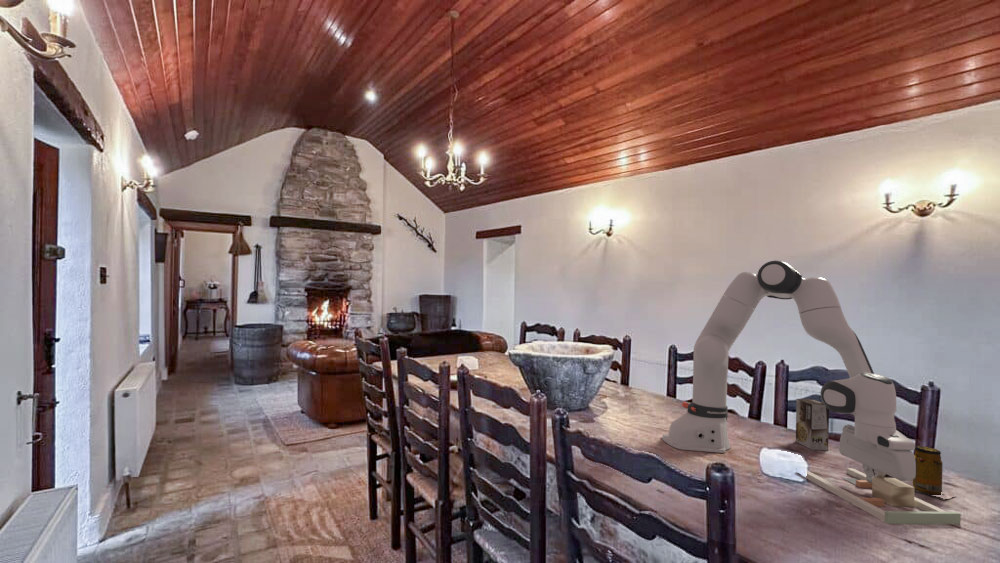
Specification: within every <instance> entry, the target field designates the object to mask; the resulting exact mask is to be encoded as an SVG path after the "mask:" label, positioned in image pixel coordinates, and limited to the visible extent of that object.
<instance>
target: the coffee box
mask: <svg viewBox="0 0 1000 563" xmlns="http://www.w3.org/2000/svg"><path fill="white" fill-rule="evenodd" d="M795 402H796V405H795V406H796V407H795V408H796V410H795V442H796V443H797V444H800V445H802V446H804V447H805V448H808V449H810V450H815V451H816V450H817V451H829V437H830V435H829V434H830V433H829V428H830V410H829V409H828V408H826V406H825V405H824V404H823V402H822V401H819V400H817V399H813V398H811V399H810V398H796V401H795Z"/></svg>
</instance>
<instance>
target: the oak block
mask: <svg viewBox="0 0 1000 563" xmlns="http://www.w3.org/2000/svg"><path fill="white" fill-rule="evenodd" d="M912 486H913V485H910V484H908V483H906V482H905V481H901V480H898V479H896V478H894V477H872V488H871V495H872V497H873V498H880V499H882V500H884V504H886V505H888V506H890V507H904V508H905V507H907V508H915V506H914V497H915V491H914V487H912Z"/></svg>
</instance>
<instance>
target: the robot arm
mask: <svg viewBox="0 0 1000 563" xmlns="http://www.w3.org/2000/svg"><path fill="white" fill-rule="evenodd" d="M765 297H767V298H771V299H777V300H792V299H793V301H795V304H796V307H797V310H798V314H799V317H800V322H801V325H802V327H803V329H804V331H805V332H806V334H807V335H809V336H810V337H811V338H813V339H815V340H817V341H819V342H821V343H824V344H826V345H828V346H830V347H832V348H833V349H834V350H835V351H837V352H838V354H839V355H840V357H841V359H842V362H843V363H844V367H845V368H846V371H847V374H848V376H849V378H844V379H837V380H830V381H829V380H828V381H826V382H825V383H824V384H823V385H822V386H821V389H820V399H821V402H822V403H823V404H824V405H825V406H826V408H828V409H829V412H832V413H837V414H844V415H845V414H851V415H853V417H854V425H851V424H846V425H844V426H843V427H842V432H841V435H840V439H839V446H838V447H839V448H838V450H839V454H840V455H842V456H844V457H845V458H848V459H851V460H853V461H855V462H858V463H860V464H862V469H863V473H864V474H866V481H867V482H869V483H871V484H872V477H883V478H885V476H887V475H889V476H888V477H890V478H896V479H898V480H900V481H902V482H910V481H911V482H913V479H914V478H915V476H916V462H915V456H914V455H915V453H914V452H913V451H914V450H915V448H916V445H915V442H914V441H912V440H911V439H909V438H907V436H905V435H904V434H902V432H900V431H899V430H897V424H896V421H895V414H896V412H897V392H896V388H895V384H894V383H893V382H894V381H893V380H892V379H889V378H888V377H887V376H885V375H882V374H877V373H875V372H874V370H873V367H872V365H871V363H870V361H869V358H868V355H867V354H866V352H865V350H864V347H863V345H862V342H861V341H860V338H859V337H858V336H857V334H856V333H855V330H853V329H852V328H851V326H850V324H849V323H848V321H847V319H846V317H845V314H844V313H843V310H842V307H841V303H840V301H839V298H838V296H837V294H836V291H835V289H834V287H833V286H832V284H831V282H830V281H829V280H827V278H823V277H818V276H814V277H813V276H812V277H806V278H805V277H803V276H802V274H801V273H800V272H799V271H798V270H797V269H796V268H795V267H793V266H792V265H790V264H789V263H787V262H785V261H782V260H772V261H771V260H770V261H767V262H766V263H764V264H763V265H762V266H761V267H759V269H758V271H757V273H754V272H750V271H749V272H748V271H744V272H740V273H738V274H737V275H736V277H734V279H733V280H732V281H731V282H730V284H729V285H728V286H727V287H726V289H725V291H724V293H723V295H722V296H721V298H720V299H719V301H718V303H717V304H716V306H715V307H714V309H713V312H712V313H711V315H710V317H709V319H708V320H707V322H706V324H705V325H704V327H703V328H702V331H701V332H700V334H699V336H698V337H697V339H696V340H695V343H694V346H693V362H692V363H693V364H692V365H693V367H692V368H693V369H692V373H693V374H692V375H693V376H692V378H693V380H692V401H691V402H690V403H688V402H686V401H682V402H681V406H682V408H683V409H684V408H685V409H687V411H686V412H685V413H684V414H682V415H681V416H679V417H677V418H676V419H675V420H673V421H671V423H670V425H669V430H668V433H664V434H662V437H661V439H662V440H663V441H664V443H666V444H668V445H669V446H671V447H673V448H675V449H678V450H683V451H695V452H709V453H722V454H725V453H726V450H730V448H731V444H730V440H729V435H728V427H727V421H728V416H729V414H728V412H729V411H728V408H729V407H728V405H727V402H728V401H727V400H728V399H727V398H728V396H727V395H728V376H729V375H728V373H729V372H728V371H729V370H728V369H729V354H730V353H729V352H730V350H731V348H732V346H733V345H734V343H735V342H736V340H737V339H738V337H739V335H740V334H741V333H742V331H743V330H744V328H745V327H746V325H747V323H748V322H749V320H750V318H751V317H752V315H753V313H754V311H755V310H756V308H757V307H758V304H759V303H760V302H761V300H762V299H763V298H765ZM872 469H874V471H873V470H872ZM886 474H887V475H886Z"/></svg>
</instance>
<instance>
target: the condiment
mask: <svg viewBox="0 0 1000 563" xmlns="http://www.w3.org/2000/svg"><path fill="white" fill-rule="evenodd" d="M914 450H915V452H914V456H915V462H916V476H915V478H914V479H913V480H912V485H911V486H912V487H914V492H916V493H919V494H924V495H927V496H930V497H933V498H936V499H940V500H944V501H946V500H945V499H943V498H939V497H936V496H931V495H941V492H943V460H942V456H941V454H942V452H941V451H940V450H939V449H937V448H933V447H930V446H926V445H925V446H923V445H917V446H916V445H915V449H914ZM928 494H929V495H928Z"/></svg>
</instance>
